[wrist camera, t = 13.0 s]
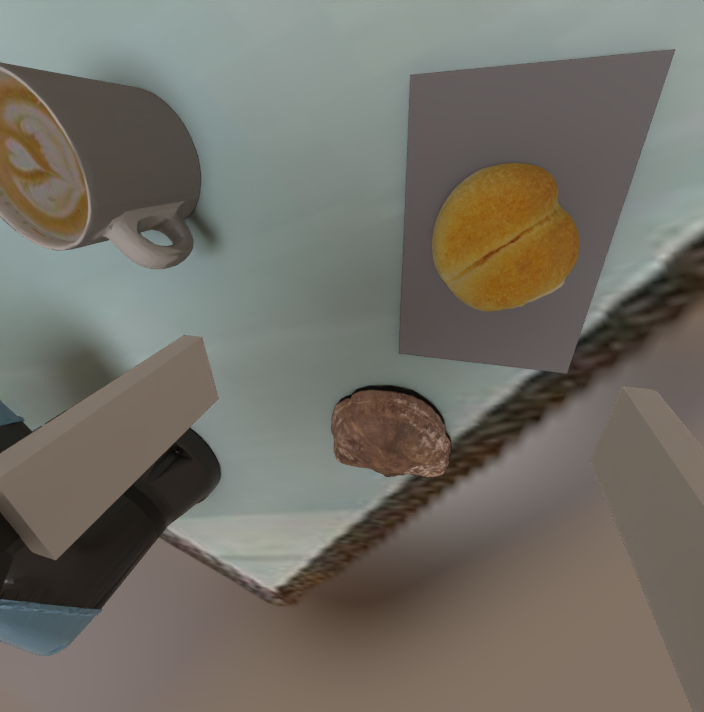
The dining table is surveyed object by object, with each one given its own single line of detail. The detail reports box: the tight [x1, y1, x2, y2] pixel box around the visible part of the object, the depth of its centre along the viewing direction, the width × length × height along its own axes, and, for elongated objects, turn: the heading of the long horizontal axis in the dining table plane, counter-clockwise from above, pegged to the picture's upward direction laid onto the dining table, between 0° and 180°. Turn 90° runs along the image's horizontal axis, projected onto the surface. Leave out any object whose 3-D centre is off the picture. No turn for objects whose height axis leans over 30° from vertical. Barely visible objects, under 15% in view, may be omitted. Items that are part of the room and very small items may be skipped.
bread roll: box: [432, 163, 579, 312], centre depth 22 cm, size 8×9×4 cm
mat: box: [399, 49, 675, 373], centre depth 24 cm, size 19×13×1 cm
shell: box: [331, 386, 451, 477], centre depth 35 cm, size 12×13×4 cm
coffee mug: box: [0, 63, 201, 269], centre depth 25 cm, size 13×10×10 cm
